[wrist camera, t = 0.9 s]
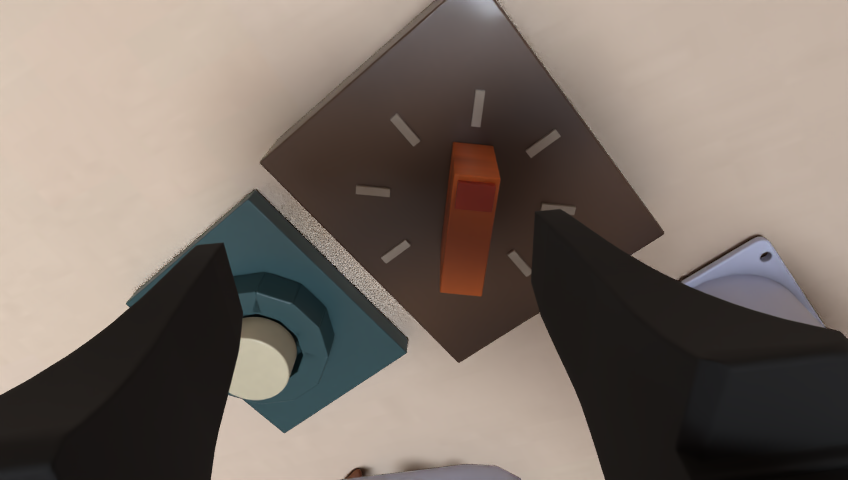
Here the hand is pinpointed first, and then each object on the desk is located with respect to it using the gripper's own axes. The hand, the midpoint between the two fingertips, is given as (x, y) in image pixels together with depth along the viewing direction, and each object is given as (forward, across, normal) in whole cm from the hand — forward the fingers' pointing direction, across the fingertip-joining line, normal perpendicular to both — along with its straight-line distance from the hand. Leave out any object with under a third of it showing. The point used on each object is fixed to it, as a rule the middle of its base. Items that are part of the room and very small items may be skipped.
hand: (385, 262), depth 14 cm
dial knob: (+10, -3, +4) cm, 11 cm away
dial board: (+13, -4, +4) cm, 14 cm away
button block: (+13, +6, +12) cm, 19 cm away
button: (+11, +7, +12) cm, 17 cm away
